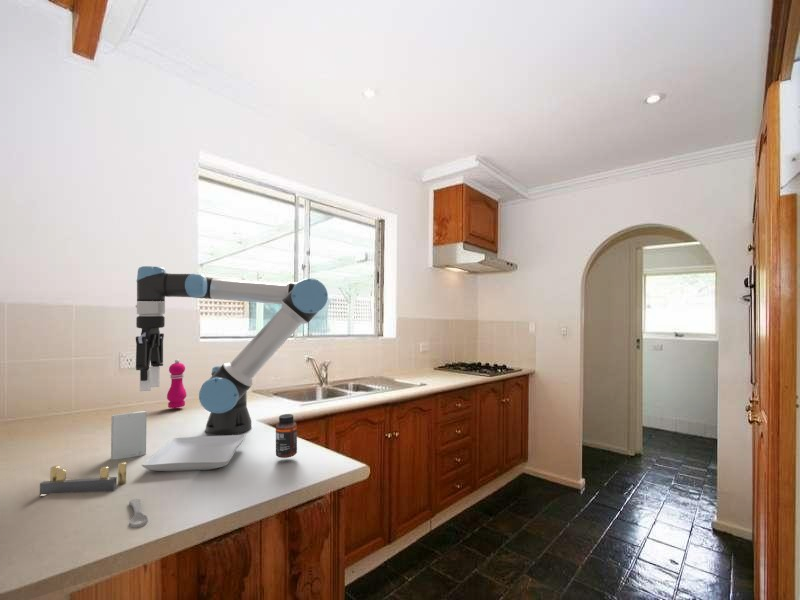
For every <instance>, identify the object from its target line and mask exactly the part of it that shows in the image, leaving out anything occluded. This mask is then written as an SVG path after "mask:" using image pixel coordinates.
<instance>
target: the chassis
mask: <svg viewBox="0 0 800 600" xmlns="http://www.w3.org/2000/svg"><path fill="white" fill-rule="evenodd" d="M117 467H118V468H117V471H118V472H117V476H114V477H113V476H112V477H111V476H109V475H110V469H109V468H110V467H109V466H102V467H100V469H99V477H95V478H92V477H91V478H79V479H78V478H77V479H76V478H75V479H67V469H66V468H61V469H60V465H53V466H51V467H50V474H49V477H50V478H49V480H44V481H42V482H41V483H39V496H40V495H41V494H48V495H50V494H58V493H59V494H63V493H98V492H101V493H102V492H105V493H106V492H115V491H116V490H117V485H118V486H123V485H126V483H127V462H126V461H121V462H118V465H117Z"/></svg>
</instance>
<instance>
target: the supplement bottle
mask: <svg viewBox="0 0 800 600" xmlns="http://www.w3.org/2000/svg"><path fill="white" fill-rule="evenodd" d="M297 428H298V425H297V423H296V421H294V414H292V413H285V414H281V415H279V417H278V423H276V425H275V455H276V458H282V459H285V458H291V457H294V456H296V454H297V453H298V429H297Z"/></svg>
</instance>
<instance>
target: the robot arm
mask: <svg viewBox="0 0 800 600" xmlns="http://www.w3.org/2000/svg"><path fill="white" fill-rule="evenodd" d="M136 277H137V278H136V304H135V308H136V315H138V316H136V318H135V319H136V320H135V321H136V322H135V323H136V327H135V328H137V329H141V331H140V336H139V335H137V336H135V343H136V345H135V346H136V349H135V351H136V352H135V369H136V371H139V392H150V391H151V388H159V387H160V367H163V366H164V337H165V334H164V333H163V332H162V333H160V332H161V331H160V329H162V328H163V329H164V328H165V323H166V322H165V321H166V320H165V316H164V315H165V312H166V300H165V299H166V297H167V298H195V299H208V300H209V299H211V300H224V301H234V302H236V301H237V302H246V303H247V302H248V303H259V304H260V303H261V304H270V305H271V304H273V305H281V307H280V309H279V310H278V311H277V312H276V313H275V315H273V317H271V318H270V320H269V321H268V322H267V323H266V324H265V325H264V326H263V328H262V329H260V330H259V331H258V333H257V334H255V336H254V337H253V338H252V339H251V340H250V341H249V343H247V345H246V346H245V347H244V348H243V349H242V350H241V351H240V352H239V353H238V354H237V355H236V357H234V359H233V360H232V361H230V362H224V363H223V364H222V365H221V366H219V365H218V366H213V367H212V369H211V376H210V378H209V379H207V380H206V381H205V382H203V383H202V385H201V387H200V390H199V393H198V400H199V403H200V405H201V407H202V408H203V409H204V410H206V411H207V412H209V416H208V418H207V422H206V425H205V432H206V434H208V435H211V436H227V435H232V434H234V435H239V434H241V433H245V432H247V431H250V429H252V418H251V415H250V412H249V410H248V407H247V406H248V405H247V403H248V402H247V399H248V398H247V397H248V396H247V395H248V394H247V393H248V392H247V391H248V390H249V389H251V387H252V386H253V378H254V377H255V376H256V375H257V374H258V373H259V371H260V370H261V369H263V367H264V366H265V365H266V364H267V362H269V360H270V359H271V358H272V357H273V356H274V355H275V353H276V352H278V350H279V349H280V348H281V347H282V346H283V344H285V342H287V340H289V338H290V337H291V336H292V335H293V334H294V333H295V332H296V330H297V329H298V328H299V327H300V326H301V325H303V324H305V325H306V324H309V323H310V321H311V320H312V319H313V318H314V317H315V316H316V315H317V314H318V313H319V312H320V311H321V310H322V309H323V308H324V307H325V306H326V304H327V301H328V297H329V294H328V290H327V288H326V286H325V285H324V284H323V283H322V282H321V281H319V280H318V279H316V278H312V277H311V278H310V277H307V278H302V279H301V280H299V281H297V282H293V281H288V282H287V283H285V284H284V283H273V282H260V281H249V280H238V279H227V278H216V277H215V278H214V277H206V276H205V275H204V274H198V273H167V272H166V268H164V267H162V266H152V265H150V266H149V265H147V266H145V265H144V266H140V267H138V269H137V276H136ZM238 433H239V434H238Z"/></svg>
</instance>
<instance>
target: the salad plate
mask: <svg viewBox="0 0 800 600" xmlns="http://www.w3.org/2000/svg"><path fill="white" fill-rule="evenodd" d="M246 436H247V435H245V434H234V435H209V436H208V435H207V436H206V435H205V436H202V435H200V436H187V437H186V436H185V437H175V438H173V439H171V440H170V441H168V442H167V443H166V444H165V445H164V446H162V447H161V448H160V449H158V450H157V451H156V452H154V454H153V455H151V456H150V457H149V458H147V459H146V460H145V461H144V462H143V463H141V466H142V467H143V468H144V469H147V470H150V471H157V472H159V471H162V472H177V471H178V472H180V471H196V470H200V471H206V470H215V469H218V468H219V469H220V468H222V467H225V466H226V465H228V464H229V463H230V461H231V460H232V458H233V457H234V454H235V452H236V451H237V449H238V448H239V447H240V445H241V444H242V443H243V442H244V441H245V438H246Z"/></svg>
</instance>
